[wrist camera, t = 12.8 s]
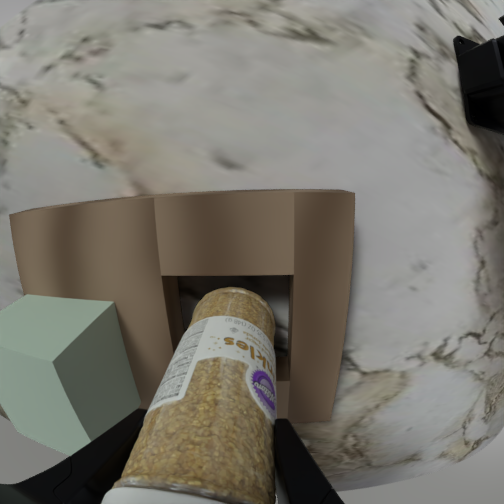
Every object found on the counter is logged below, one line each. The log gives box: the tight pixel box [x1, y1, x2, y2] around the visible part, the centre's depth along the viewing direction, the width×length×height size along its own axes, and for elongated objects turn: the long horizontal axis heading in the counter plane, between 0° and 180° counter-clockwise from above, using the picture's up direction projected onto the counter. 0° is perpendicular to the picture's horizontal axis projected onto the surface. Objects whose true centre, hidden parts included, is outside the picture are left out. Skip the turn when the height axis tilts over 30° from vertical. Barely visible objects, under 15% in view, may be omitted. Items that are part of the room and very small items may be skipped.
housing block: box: [0, 294, 141, 456], centre depth 13 cm, size 7×7×6 cm
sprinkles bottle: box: [101, 287, 277, 504], centre depth 9 cm, size 5×5×14 cm
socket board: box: [9, 189, 355, 423], centre depth 16 cm, size 20×14×2 cm
